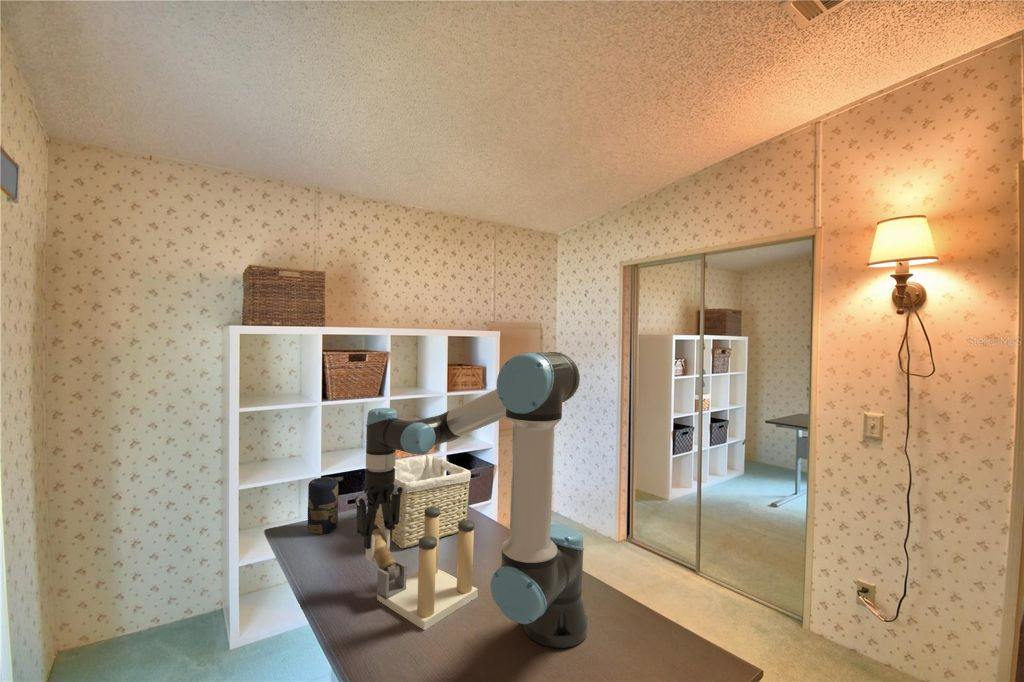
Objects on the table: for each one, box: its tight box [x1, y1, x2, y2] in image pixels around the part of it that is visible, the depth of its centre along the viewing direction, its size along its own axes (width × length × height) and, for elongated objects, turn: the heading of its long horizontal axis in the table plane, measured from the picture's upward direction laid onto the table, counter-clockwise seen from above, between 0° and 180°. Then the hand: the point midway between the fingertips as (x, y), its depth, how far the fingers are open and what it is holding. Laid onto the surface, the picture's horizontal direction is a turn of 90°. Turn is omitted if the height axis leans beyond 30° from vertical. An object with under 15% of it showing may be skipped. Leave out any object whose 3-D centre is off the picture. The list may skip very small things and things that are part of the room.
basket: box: [374, 454, 472, 549], centre depth 159 cm, size 27×27×22 cm
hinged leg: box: [372, 524, 402, 582], centre depth 119 cm, size 14×4×4 cm
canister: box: [307, 476, 339, 535], centre depth 155 cm, size 10×10×18 cm
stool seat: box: [376, 507, 479, 631], centre depth 117 cm, size 18×19×19 cm
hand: (377, 556), depth 120 cm, fingers closed on hinged leg, 4 cm apart
